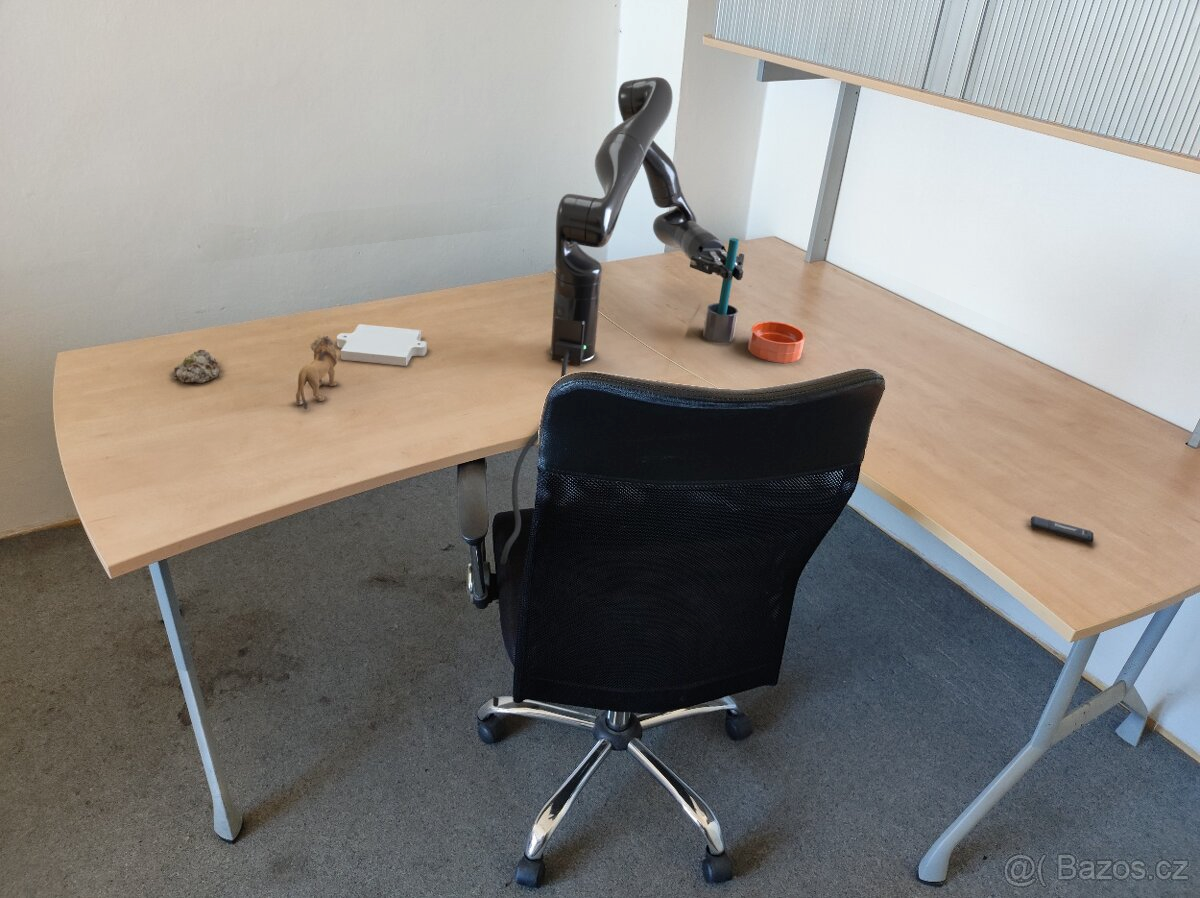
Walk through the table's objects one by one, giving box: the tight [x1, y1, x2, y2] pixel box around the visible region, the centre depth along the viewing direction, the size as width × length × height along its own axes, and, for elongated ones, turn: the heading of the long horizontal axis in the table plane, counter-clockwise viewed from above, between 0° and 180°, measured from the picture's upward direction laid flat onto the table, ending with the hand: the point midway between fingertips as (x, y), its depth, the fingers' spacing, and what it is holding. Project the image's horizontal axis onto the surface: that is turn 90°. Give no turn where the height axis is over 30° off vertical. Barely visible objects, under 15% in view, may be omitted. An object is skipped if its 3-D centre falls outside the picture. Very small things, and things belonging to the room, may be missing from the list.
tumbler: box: [702, 302, 739, 344], centre depth 198 cm, size 7×7×7 cm
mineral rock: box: [173, 349, 220, 384], centre depth 165 cm, size 11×4×8 cm
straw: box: [717, 237, 740, 315], centre depth 193 cm, size 2×2×19 cm
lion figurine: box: [295, 334, 338, 410], centre depth 161 cm, size 15×5×9 cm, turn 179°
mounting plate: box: [336, 323, 428, 367], centre depth 180 cm, size 18×13×2 cm
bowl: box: [747, 320, 806, 364], centre depth 194 cm, size 12×12×5 cm
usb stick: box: [1030, 515, 1095, 544], centre depth 145 cm, size 10×3×2 cm, turn 68°
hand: (735, 276), depth 189 cm, fingers closed on straw, 2 cm apart
